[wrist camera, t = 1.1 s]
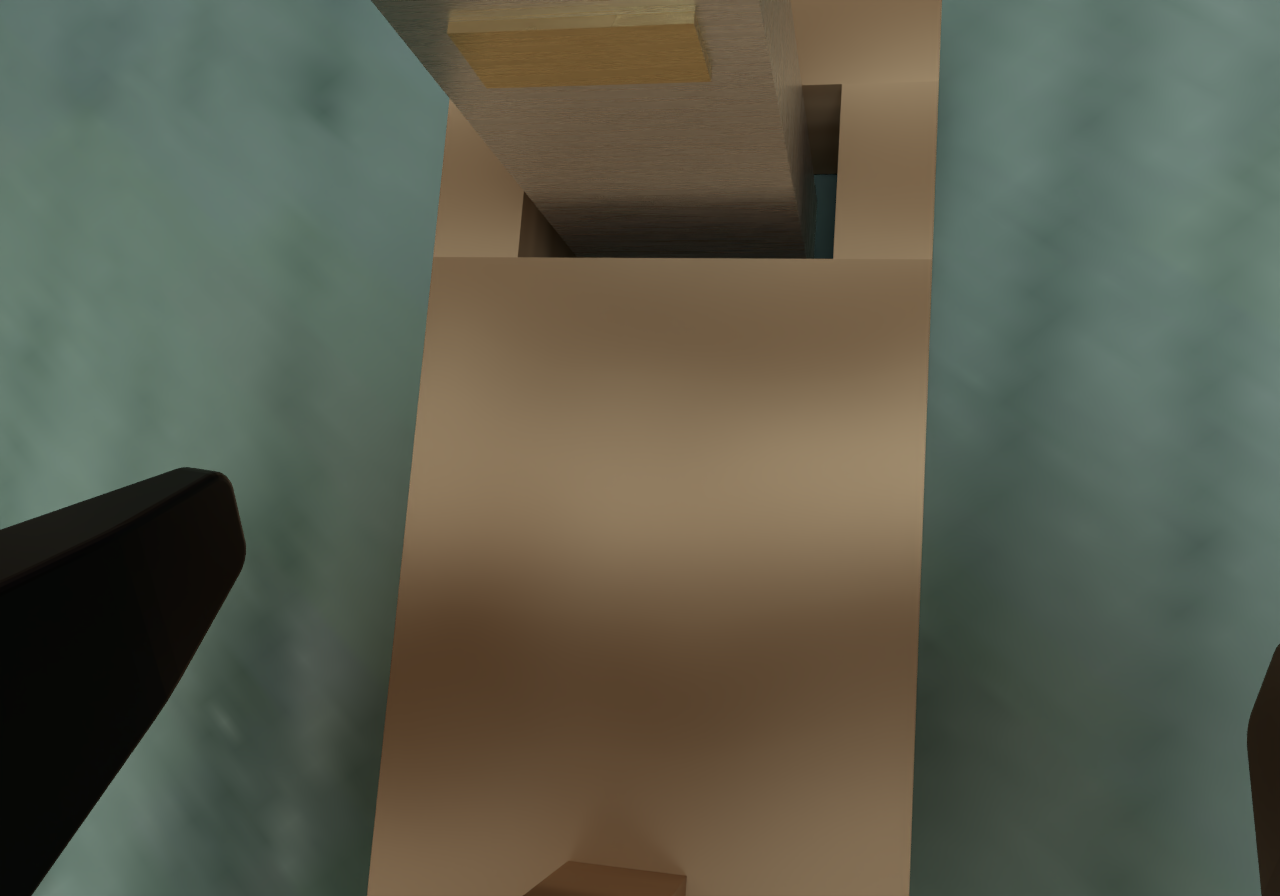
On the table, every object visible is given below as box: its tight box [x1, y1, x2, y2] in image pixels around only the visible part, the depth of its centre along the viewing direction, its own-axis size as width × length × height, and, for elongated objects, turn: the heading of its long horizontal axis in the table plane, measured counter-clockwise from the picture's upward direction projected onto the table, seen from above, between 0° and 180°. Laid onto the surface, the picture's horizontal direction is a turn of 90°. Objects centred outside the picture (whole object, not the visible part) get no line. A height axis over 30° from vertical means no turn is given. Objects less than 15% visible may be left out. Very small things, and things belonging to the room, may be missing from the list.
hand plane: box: [367, 0, 942, 896], centre depth 19 cm, size 20×9×8 cm, turn 176°
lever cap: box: [371, 0, 817, 259], centre depth 18 cm, size 2×4×12 cm, turn 86°
